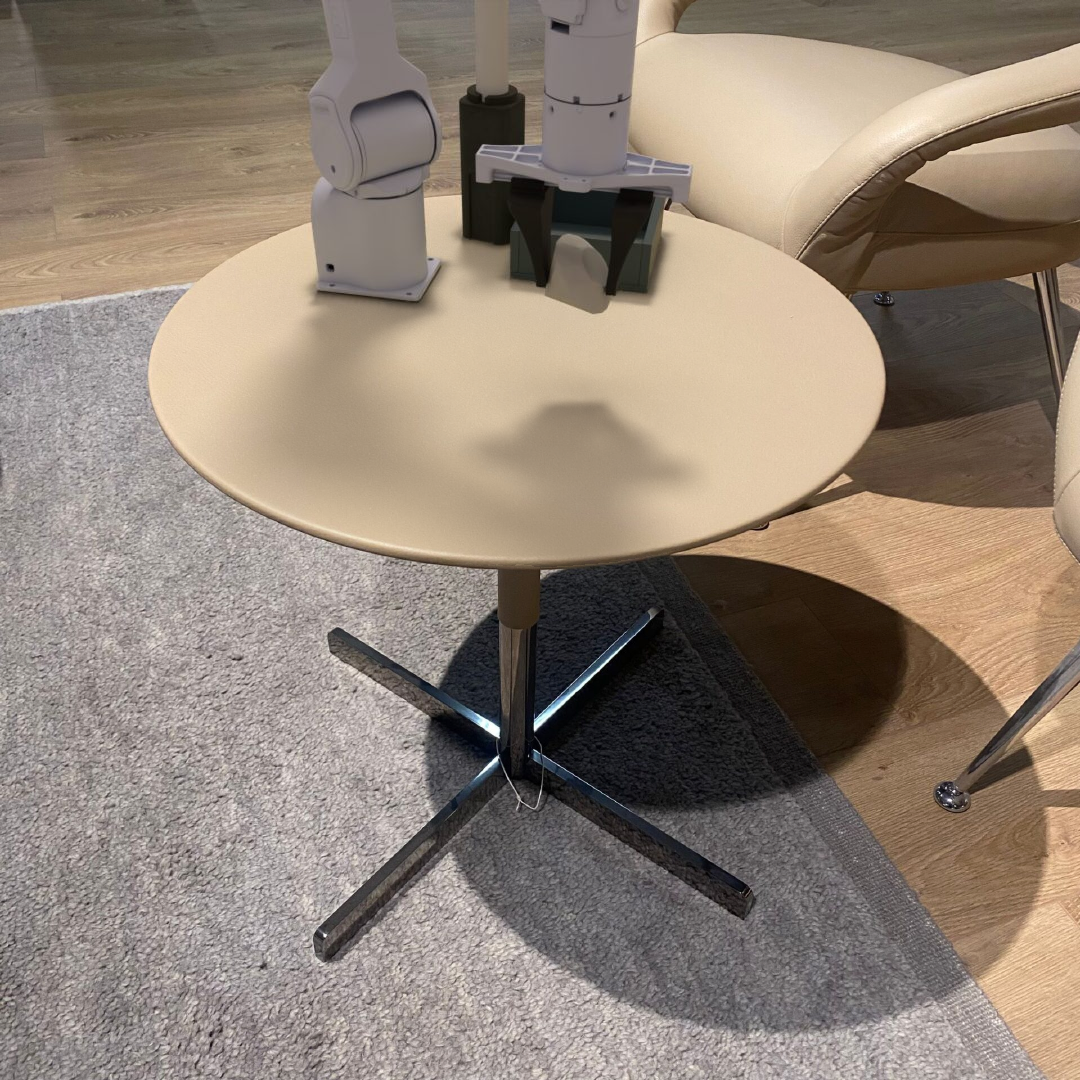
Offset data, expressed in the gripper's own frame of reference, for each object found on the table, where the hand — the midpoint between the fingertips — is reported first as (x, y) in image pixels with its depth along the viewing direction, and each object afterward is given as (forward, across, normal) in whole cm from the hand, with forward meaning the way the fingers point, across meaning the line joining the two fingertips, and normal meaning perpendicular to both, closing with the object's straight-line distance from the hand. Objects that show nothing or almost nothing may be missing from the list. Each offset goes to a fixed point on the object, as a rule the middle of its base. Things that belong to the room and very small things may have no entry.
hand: (577, 285), depth 74 cm
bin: (+8, -2, +23) cm, 24 cm away
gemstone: (+2, 0, 0) cm, 2 cm away
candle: (+9, -12, +26) cm, 30 cm away
